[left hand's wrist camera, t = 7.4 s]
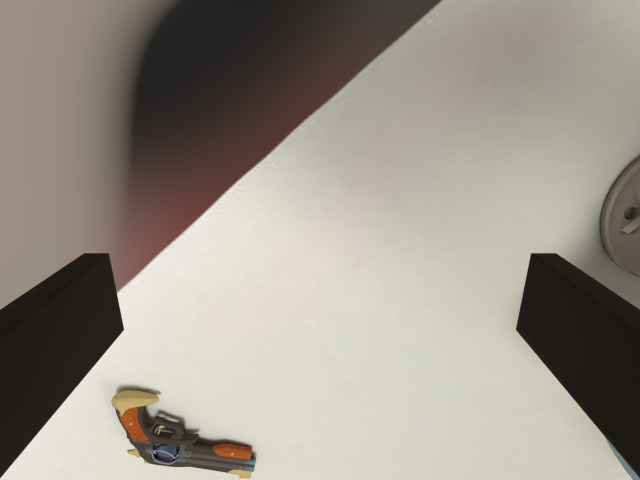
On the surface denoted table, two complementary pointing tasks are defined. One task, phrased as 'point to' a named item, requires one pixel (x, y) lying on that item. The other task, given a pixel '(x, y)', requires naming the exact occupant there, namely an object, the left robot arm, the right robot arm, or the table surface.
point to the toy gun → (175, 440)
